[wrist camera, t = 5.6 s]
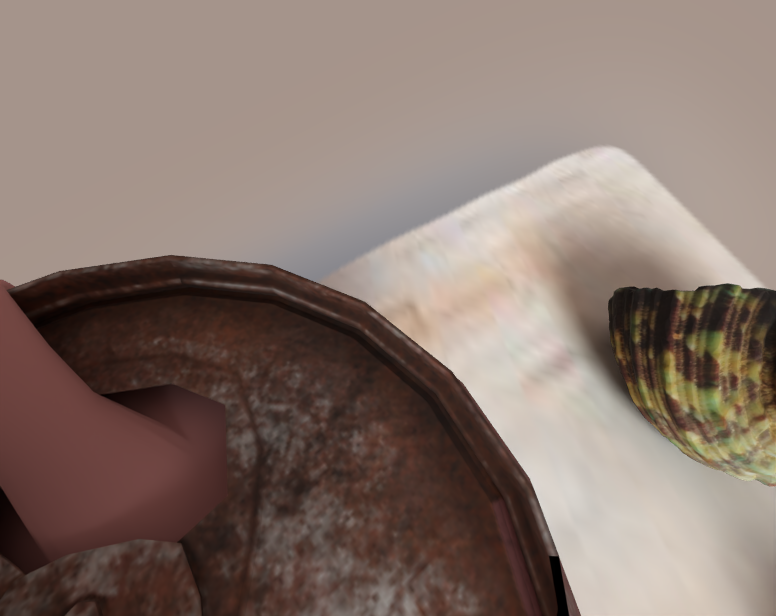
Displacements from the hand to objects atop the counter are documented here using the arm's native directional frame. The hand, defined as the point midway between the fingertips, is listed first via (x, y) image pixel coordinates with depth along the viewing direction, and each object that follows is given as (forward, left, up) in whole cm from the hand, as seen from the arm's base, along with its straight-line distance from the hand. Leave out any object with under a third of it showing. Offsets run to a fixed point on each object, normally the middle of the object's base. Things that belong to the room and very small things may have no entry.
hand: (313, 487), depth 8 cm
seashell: (+12, -17, -13) cm, 25 cm away
